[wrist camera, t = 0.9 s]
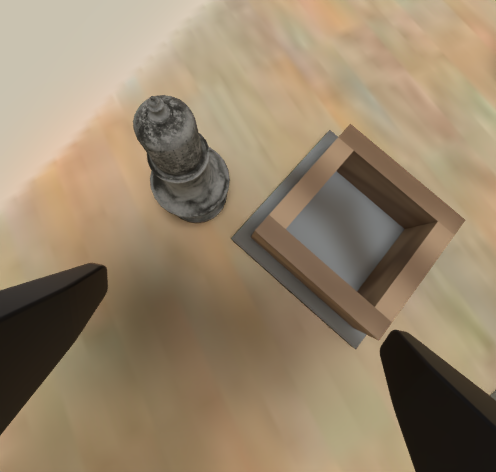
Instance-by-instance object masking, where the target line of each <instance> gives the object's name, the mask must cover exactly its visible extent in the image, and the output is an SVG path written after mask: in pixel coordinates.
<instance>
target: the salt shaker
mask: <svg viewBox="0 0 496 472" xmlns="http://www.w3.org/2000/svg"><path fill="white" fill-rule="evenodd" d="M133 127H134V132H135V134H136V137H137V139H138V141H139V142H140V144H141V145H142V146H143V148H144V149H145V150H146V152H147V160H148V163H149V166H150V169H151V170H152V171H151V176H150V183H151V190H152V192H153V195H154V197H155V199H156V200H157V202H158V203H159V204H160V205H161V206H162V207H163V208H164V209H166V210H167V211H168V212H169V213H172V214H174V215H177V216H178V217H180V218H181V219H183V220H185V221H188V222H193V223H200V222H206V221H208V220H211V219H213V218H214V217H215V216H217V215H218V214H219V213H220V211H221V210H222V209H223V207H224V205H225V202H226V196H227V192H228V188H229V181H230V179H229V172H228V168H227V166H226V164H225V161H224V160H223V159H222V158H221V156H220V155H219V154H218V153H217V152H215V151H214V150H213V149H211V148H210V147H208V144H207V142H206V140H205V139H204V137H203V136H202V135H201V134H200V133H198V129H197V124H196V120H195V118H194V115H193V113H192V111H191V110H190V109H189V107H188V106H187V105H186V104H185V103H184V102H182V101H181V100H180V99H177V98H175V97H172V96H166V95H160V96H151V97H150V98H149V99H147V100H146V101H144V102H143V103H142V104H141V105H140V106H139V108H138V110H137V111H136V113H135V115H134V120H133Z"/></svg>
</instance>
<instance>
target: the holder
mask: <svg viewBox="0 0 496 472" xmlns="http://www.w3.org/2000/svg"><path fill="white" fill-rule="evenodd" d="M464 221H465V219H464V218H462V217H461V216H460V215H459V214H458V213H456V212H455V211H454V210H453V209H452V208H450V207H449V206H448V205H447V204H446V203H444V202H443V201H442V200H441V199H440V198H438V197H437V196H436V195H435V194H434V193H433V192H431V191H430V190H429V189H428V188H427V187H425V186H424V185H423V184H422V183H421V182H419V181H418V180H417V179H416V178H415V177H413V176H412V175H411V174H410V173H409V172H407V171H406V170H405V169H404V168H403V167H401V166H400V165H399V164H398V163H397V162H395V161H394V160H393V159H392V158H391V157H389V156H388V155H387V154H386V153H385V152H384V151H382V150H381V149H380V148H379V147H378V146H376V145H375V144H374V143H373V142H372V141H370V140H369V139H368V138H367V137H366V136H364V135H363V134H362V133H361V132H360V131H358V130H357V129H356V128H355V127H354V126H352V125H351V124H350V125H349V126H348V127H347V128H346V129H345V130H344V131H343V133H342V134H341V135H340V136H339V137H338V136H336V135H335V134H334V133H333V132H332V131H330V130H329V131H328V132H327V134H326V135H325V136H324V137H323V138H322V139H321V140H320V141H319V142H318V143H317V145H316V146H315V147H314V148H313V149H312V150H311V151H310V152H309V153H308V154H307V156H306V157H305V158H304V159H303V160H302V161H301V162H300V163H299V164H298V165H297V167H296V168H295V169H294V170H293V171H292V172H291V173H290V174H289V175H288V176H287V178H286V179H285V180H284V181H283V182H282V183H281V184H280V185H279V186H278V187H277V189H276V190H275V191H274V192H273V193H272V194H271V195H270V196H269V197H268V198H267V200H266V201H265V202H264V203H263V204H262V205H261V206H260V207H259V208H258V209H257V211H256V212H255V213H254V214H253V215H252V216H251V217H250V218H249V219H248V220H247V222H246V223H245V224H244V225H243V226H242V227H241V228H240V229H239V230H238V231H237V232H236V234H235V235H234V236H233V237H232V238H231V239H232V240H233V241H234V242H235V243H236V244H237V245H238V246H240V247H241V248H242V249H243V250H244V251H245V252H246V253H247V254H249V255H250V256H251V257H252V258H253V259H254V260H255V261H256V262H258V263H259V264H260V265H261V266H262V267H263V268H264V269H265V270H267V271H268V272H269V273H270V274H271V275H272V276H273V277H274V278H276V279H277V280H278V281H279V282H280V283H281V284H282V285H283V286H285V287H286V288H287V289H288V290H289V291H290V292H291V293H292V294H294V295H295V296H296V297H297V298H298V299H299V300H300V301H301V302H303V303H304V304H305V305H306V306H307V307H308V308H309V309H310V310H311V311H313V312H314V313H315V314H316V315H317V316H318V317H319V318H320V319H322V320H323V321H324V322H325V323H326V324H327V325H328V326H329V327H331V328H332V329H333V330H334V331H335V332H336V333H337V334H338V335H340V336H341V337H342V338H343V339H344V340H345V341H346V342H347V343H349V344H350V345H351V346H352V347H353V348H355V349H356V348H357V347H358V346H359V344H360V343H361V341H362V340H363V339H364V337H365V336H366V335H369V336H371V337H373V338H375V339H377V340H380V339H381V337H382V336H383V334H384V333H385V332H386V330H387V329H388V327H389V326H390V325H391V323H392V322H393V320H394V319H395V318H396V316H397V315H398V313H399V312H400V311H401V309H402V308H403V306H404V305H405V304H406V302H407V301H408V299H409V298H410V297H411V295H412V294H413V292H414V291H415V290H416V288H417V287H418V286H419V284H420V283H421V281H422V280H423V279H424V277H425V276H426V274H427V273H428V272H429V270H430V269H431V267H432V266H433V265H434V263H435V262H436V260H437V259H438V258H439V256H440V255H441V253H442V252H443V251H444V249H445V248H446V246H447V245H448V244H449V242H450V241H451V239H452V238H453V237H454V235H455V234H456V232H457V231H458V230H459V228H460V227H461V225H462V224H463V223H464Z"/></svg>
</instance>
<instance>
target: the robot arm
mask: <svg viewBox="0 0 496 472" xmlns="http://www.w3.org/2000/svg"><path fill="white" fill-rule="evenodd" d="M107 289H108V280H107V268H106V266H104V265H101V264H96V263H88V264H85V265H82V266H78V267H75V268H72V269H69V270H65V271H62V272H59V273H56V274H52V275H49V276H46V277H43V278H39V279H36V280H33V281H30V282H26V283H23V284H20V285H17V286H13V287H10V288H7V289H4V290H0V435H1V434H2V433H3V431H4V430H5V429H6V428H7V426H8V425H9V424H10V423H11V421H12V420H13V419H14V418H15V416H16V415H17V414H18V413H19V411H20V410H21V409H22V408H23V406H24V405H25V404H26V403H27V401H28V400H29V399H30V398H31V396H32V395H33V394H34V392H35V391H36V390H37V389H38V387H39V386H40V385H41V384H42V382H43V381H44V380H45V379H46V377H47V376H48V375H49V374H50V372H51V371H52V370H53V369H54V367H55V366H56V365H57V364H58V362H59V361H60V360H61V359H62V357H63V356H64V355H65V354H66V352H67V351H68V350H69V349H70V347H71V346H72V345H73V343H74V342H75V341H76V339H77V338H78V336H79V335H80V333H81V332H82V330H83V329H84V327H85V326H86V324H87V323H88V321H89V320H90V318H91V316H92V315H93V313H94V312H95V310H96V309H97V307H98V306H99V304H100V303H101V301H102V300H103V298H104V296H105V295H106V293H107ZM380 357H381V361H382V365H383V369H384V373H385V377H386V381H387V385H388V389H389V392H390V396H391V400H392V404H393V407H394V410H395V414H396V417H397V420H398V422H399V425H400V428H401V431H402V434H403V437H404V440H405V443H406V446H407V448H408V451H409V454H410V457H411V460H412V463H413V466H414V469H415V471H416V472H496V400H495V399H493V398H492V397H491V396H489V395H488V394H487V393H486V392H484V391H483V390H482V389H480V388H479V387H478V386H476V385H475V384H474V383H473V382H471V381H470V380H469V379H467V378H466V377H465V376H464V375H462V374H461V373H460V372H458V371H457V370H456V369H455V368H453V367H452V366H451V365H449V364H448V363H447V362H446V361H444V360H443V359H442V358H440V357H439V356H438V355H436V354H435V353H434V352H433V351H431V350H430V349H429V348H427V347H426V346H425V345H424V344H422V343H421V342H420V341H418V340H417V339H416V338H415V337H413V336H412V335H411V334H409V333H407V332H404V331H399V330H393V331H391V332H390V334H389V335H388V337H387V338H386V340H385V341H384V342H383V344H382V345H381V348H380Z"/></svg>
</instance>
